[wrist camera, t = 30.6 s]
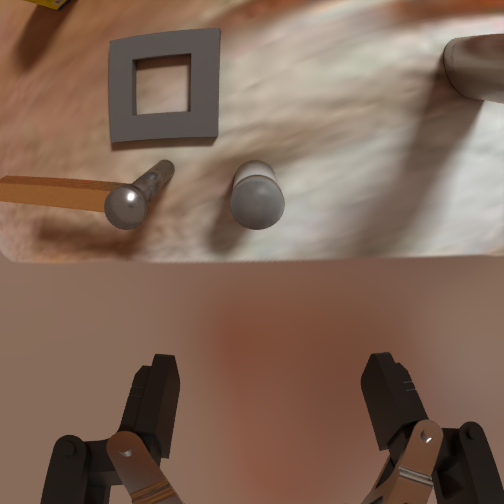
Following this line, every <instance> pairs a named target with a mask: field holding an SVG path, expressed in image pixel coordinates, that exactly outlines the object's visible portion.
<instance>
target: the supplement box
mask: <svg viewBox="0 0 504 504" xmlns="http://www.w3.org/2000/svg"><path fill="white" fill-rule="evenodd" d="M24 1H28V2H32V3H35V4H39V5H42V6H46V7H49V8H52V9H55V10H58V11H59V10H60V9H61V8H62V7H64V6H65V5H66V4H67V3H68V2H69V1H70V0H24Z"/></svg>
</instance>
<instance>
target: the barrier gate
mask: <svg viewBox="0 0 504 504" xmlns="http://www.w3.org/2000/svg"><path fill="white" fill-rule="evenodd" d="M174 171H175V168H174V165H173V163H172V162H171V161H169V160H161V161H160V162H158V163H157V164H156V165H154V166H153V167H152V168H151V169H149V170H148V171H147V172H146V173H144V174H143V175H142V176H141V177H139V178H138V179H137V180H136V181H134V182H133V183H132V184H127V183H116V182H105V181H92V180H79V179H65V178H48V177H28V176H5V177H3V178H1V179H0V201H4V202H14V203H24V204H34V205H43V206H52V207H61V208H70V209H79V210H88V211H96V212H105V214H106V217H107V219H108V220H109V221H110V223H111V224H112V225H114V226H115V227H117V228H119V229H123V230H130V229H133V228H135V227H137V226H138V225H139V224H140V223H141V221H142V220H143V219H144V218H145V216H146V214H147V212H148V202H149V201H150V200H151V199H152V198H153V197H154V195H155V194H156V193H157V192H158V191H159V190H160V189H161V187H162V186H163V185H164V184H165V183H166V182H167V181H168V180H169V179H170V177H171V176H172V175H173V174H174Z"/></svg>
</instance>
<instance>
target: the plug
mask: <svg viewBox="0 0 504 504" xmlns="http://www.w3.org/2000/svg"><path fill="white" fill-rule="evenodd" d="M284 207H285V202H284V197H283V194H282V191H281V189H280V187H279V184H278V182H277V179H276V176H275V173H274V171H273V169H272V168H271V167H270V166H269V165H268V164H266V163H265V162H262V161H258V160H252V161H248V162H246V163H244V164H242V165H241V166H240V167H239V168H238V170H237V171H236V174H235V178H234V185H233V191H232V195H231V201H230V208H231V212H232V215H233V217H234V218H235V220H236V221H237V222H238V223H239V224H241V225H242V226H244V227H246V228H249V229H253V230H261V229H266V228H268V227H271V226H272V225H274V224H275V223H276V222H277V221H278V220H279V219H280V218H281V216H282V214H283V211H284Z"/></svg>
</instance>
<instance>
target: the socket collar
mask: <svg viewBox="0 0 504 504" xmlns="http://www.w3.org/2000/svg"><path fill="white" fill-rule="evenodd" d="M220 37H221V30H220V28H208V29H191V30H179V31H169V32H160V33H153V34H146V35H139V36H133V37H128V38H122V39H117V40H113V41H110V52H109V115H110V135H111V143H112V142H122V141H133V140H145V139H161V138H182V137H217V136H218V117H219V67H220ZM185 55H191V111H184V112H167V113H154V114H142V115H137V113H136V61H138V60H146V59H154V58H162V57H172V56H185Z"/></svg>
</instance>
